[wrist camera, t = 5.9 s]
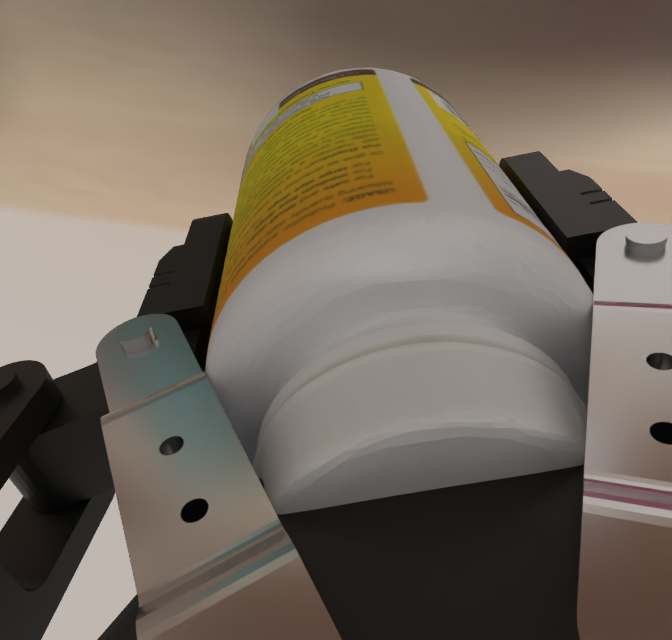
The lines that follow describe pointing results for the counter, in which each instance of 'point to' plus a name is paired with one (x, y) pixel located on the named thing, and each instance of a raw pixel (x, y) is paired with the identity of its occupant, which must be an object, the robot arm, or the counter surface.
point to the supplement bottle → (392, 304)
